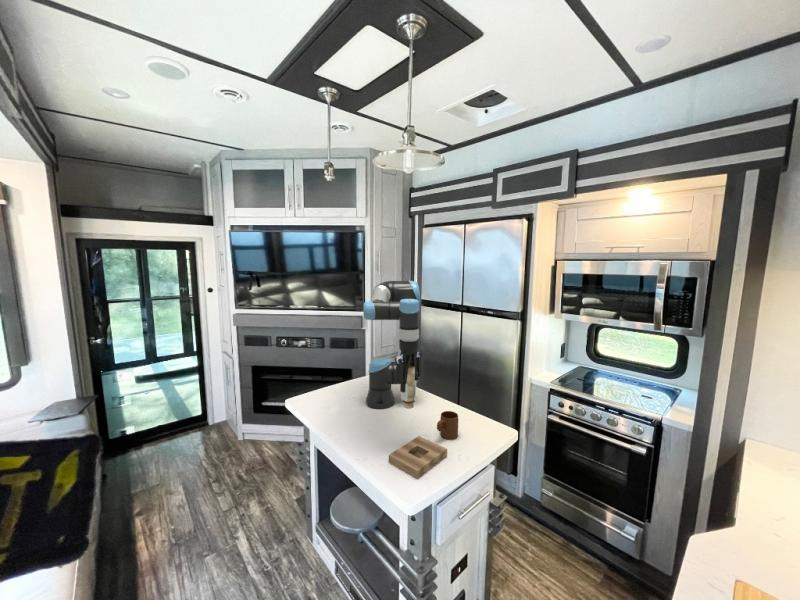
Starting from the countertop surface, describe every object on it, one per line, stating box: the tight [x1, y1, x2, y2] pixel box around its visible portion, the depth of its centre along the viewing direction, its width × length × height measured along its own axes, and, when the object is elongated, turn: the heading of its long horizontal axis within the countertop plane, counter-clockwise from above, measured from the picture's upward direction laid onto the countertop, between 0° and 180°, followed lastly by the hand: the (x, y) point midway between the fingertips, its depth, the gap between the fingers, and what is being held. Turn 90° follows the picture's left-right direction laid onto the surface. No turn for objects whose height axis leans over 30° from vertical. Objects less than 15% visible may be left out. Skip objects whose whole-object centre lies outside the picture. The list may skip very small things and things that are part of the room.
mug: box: [436, 410, 459, 441], centre depth 139 cm, size 12×8×9 cm, turn 136°
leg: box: [402, 366, 415, 410], centre depth 128 cm, size 5×5×16 cm
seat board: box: [388, 435, 448, 480], centre depth 124 cm, size 18×14×3 cm
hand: (408, 397), depth 129 cm, fingers closed on leg, 4 cm apart
